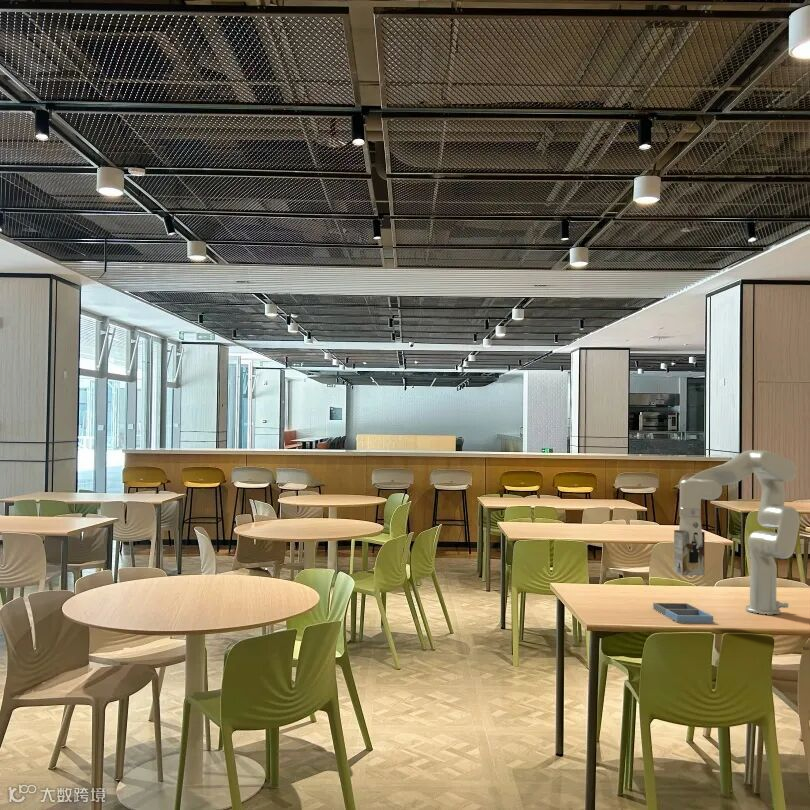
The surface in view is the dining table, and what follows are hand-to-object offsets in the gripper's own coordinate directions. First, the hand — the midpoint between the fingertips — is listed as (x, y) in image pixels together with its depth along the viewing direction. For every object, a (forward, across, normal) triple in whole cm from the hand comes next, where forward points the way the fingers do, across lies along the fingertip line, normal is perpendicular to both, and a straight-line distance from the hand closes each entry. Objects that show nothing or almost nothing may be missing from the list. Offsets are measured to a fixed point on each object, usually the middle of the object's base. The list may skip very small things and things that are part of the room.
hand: (689, 560), depth 296 cm
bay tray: (+22, +5, 0) cm, 22 cm away
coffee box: (+5, 0, 0) cm, 5 cm away
